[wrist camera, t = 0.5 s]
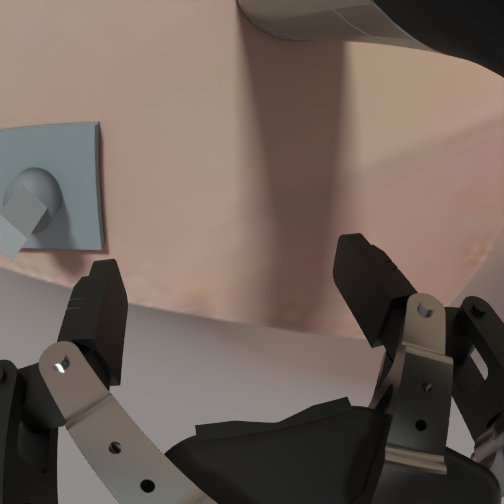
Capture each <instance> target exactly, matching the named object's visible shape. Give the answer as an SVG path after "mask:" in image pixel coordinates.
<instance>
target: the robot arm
mask: <svg viewBox="0 0 504 504" xmlns="http://www.w3.org/2000/svg"><path fill="white" fill-rule="evenodd" d="M237 1H238V4H239V6H240V8H241V10H242V12H243V13H244V15H245V16H246V17H247V18H248V19H249V20H250V22H251V23H253V24H254V25H255V26H256V27H258V28H259V29H260V30H262V31H264V32H266V33H268V34H270V35H272V36H275V37H279V38H282V39H289V40H299V41H310V40H329V41H350V42H364V43H374V44H384V45H392V46H399V47H407V48H413V49H419V50H425V51H430V52H435V53H440V54H445V55H449V56H454V57H458V58H461V59H465V60H469V61H472V62H474V63H477V64H479V65H481V66H483V67H485V68H487V69H489V70H491V71H493V72H495V73H497V74H498V75H500V76H502V77H503V78H504V0H237ZM333 278H334V282H335V284H336V286H337V288H338V290H339V291H340V293H341V295H342V296H343V298H344V300H345V301H346V303H347V305H348V307H349V308H350V310H351V312H352V314H353V315H354V317H355V319H356V321H357V322H358V324H359V326H360V328H361V329H362V331H363V333H364V335H365V337H366V338H367V340H368V342H369V344H370V346H371V347H372V348H374V347H378V346H381V345H384V347H385V349H386V350H385V352H384V354H383V358H382V362H381V367H380V371H379V375H378V379H377V383H376V387H375V390H374V394H373V397H372V400H371V402H370V404H369V407H362V406H351V404H350V402H349V400H348V397H344V398H341V399H337V400H333V401H329V402H325V403H322V404H318V405H314V406H311V407H310V408H308V409H305V410H303V411H301V412H299V413H297V414H295V415H293V416H291V417H289V418H287V419H284V420H282V421H280V422H277V423H263V422H245V421H228V422H221V423H213V424H203V425H195V428H196V435H195V436H192V437H189V438H187V439H185V440H183V441H181V442H179V443H178V444H176V445H174V446H173V447H172V448H171V449H169V450H168V451H167V452H166V453H165V454H163V453H162V452H161V451H160V450H159V449H158V448H157V447H156V446H155V445H154V443H153V442H152V441H151V440H150V439H149V438H148V437H147V436H146V435H145V434H144V432H143V431H142V430H141V429H140V428H139V427H138V426H137V424H135V422H134V421H133V420H132V419H131V417H130V416H129V415H128V414H127V413H126V411H125V410H124V409H123V408H122V407H121V405H120V404H119V403H118V401H117V400H116V399H115V398H114V397H113V395H112V394H111V393H109V388H110V386H116V385H120V381H121V368H122V356H123V346H124V337H125V328H126V319H127V311H128V300H127V294H126V291H125V288H124V284H123V281H122V278H121V275H120V271H119V268H118V265H117V262H116V260H115V259H107V260H99V261H94V262H93V265H92V268H91V271H90V274H89V276H85V277H82V278H81V279H80V280H79V281H78V283H77V284H76V285H75V286H74V288H73V291H72V294H71V297H70V301H69V303H68V306H67V310H66V313H65V316H64V319H63V323H62V326H61V329H60V333H59V336H58V340H57V343H54V344H52V345H50V346H49V347H48V348H47V349H46V350H45V351H44V352H43V354H42V355H41V357H40V360H39V363H36V364H33V365H30V366H27V367H24V368H21V369H17V368H16V366H15V365H14V364H13V363H12V362H11V361H8V360H0V504H58V494H57V442H58V427H61V426H64V425H65V426H66V429H67V431H68V432H69V434H70V436H71V437H72V439H73V440H74V442H75V443H76V445H77V447H78V448H79V450H80V451H81V453H82V454H83V456H84V457H85V459H86V460H87V462H88V463H89V465H90V466H91V467H92V469H93V470H94V472H95V473H96V474H97V476H98V477H99V478H100V480H101V481H102V482H103V483H104V485H105V486H106V488H107V489H108V490H109V491H110V493H111V494H112V495H113V496H114V498H115V499H116V500H117V501H118V502H119V504H501V498H502V497H503V496H504V323H503V322H502V321H501V319H500V318H499V317H498V315H497V314H496V313H495V311H494V310H493V309H492V307H491V306H490V305H489V304H488V303H487V302H486V301H484V300H483V299H481V298H479V297H475V296H469V297H466V298H465V299H464V300H463V302H462V304H461V306H460V308H455V307H444V306H443V305H442V303H441V302H440V301H439V300H438V299H436V298H435V297H433V296H431V295H429V294H425V293H418V292H417V291H416V290H415V289H414V287H413V286H412V285H411V284H410V282H409V281H408V280H407V279H406V277H405V276H404V275H403V274H402V272H401V271H400V270H398V269H397V266H396V265H395V264H394V263H393V262H392V260H391V259H390V258H389V257H388V256H387V254H386V253H385V252H384V251H382V250H381V249H379V248H378V247H376V246H374V245H370V243H369V242H368V241H367V240H366V239H365V237H364V236H363V235H362V234H360V233H355V234H345V235H341V236H340V237H339V239H338V244H337V250H336V255H335V260H334V266H333ZM475 348H476V349H477V351H478V352H479V354H480V355H481V357H482V358H483V360H484V362H485V363H486V365H487V367H488V376H487V379H486V380H484V378H483V376H482V374H481V373H480V371H479V370H478V368H477V366H476V364H475V363H474V361H473V360H472V358H471V356H470V355H471V354H472V352H473V351H474V349H475ZM451 396H452V397H453V399H454V401H455V403H456V405H457V406H458V409H459V411H460V413H461V415H462V417H463V419H464V421H465V423H466V425H467V427H468V429H469V431H470V433H471V436H472V438H473V440H474V442H475V446H474V452H473V453H472V455H471V459H470V458H468V457H466V456H464V455H462V454H460V453H458V452H456V451H454V450H452V449H450V448H448V447H446V440H447V433H448V425H449V417H450V407H451Z"/></svg>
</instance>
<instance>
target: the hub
mask: <svg viewBox="0 0 504 504" xmlns="http://www.w3.org/2000/svg"><path fill="white" fill-rule="evenodd" d="M103 244H104V232H103V221H102V209H101V193H100V171H99V122H81V123H62V124H48V125H36V126H26V127H17V128H9V129H1V130H0V252H1V253H2V254H4V255H5V256H6V257H7V258H8V259H10V260H11V261H13V260H14V258H15V257H16V255H17V254H18V252H19V251H20V249H21V248H42V249H81V250H102V247H103Z"/></svg>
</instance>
